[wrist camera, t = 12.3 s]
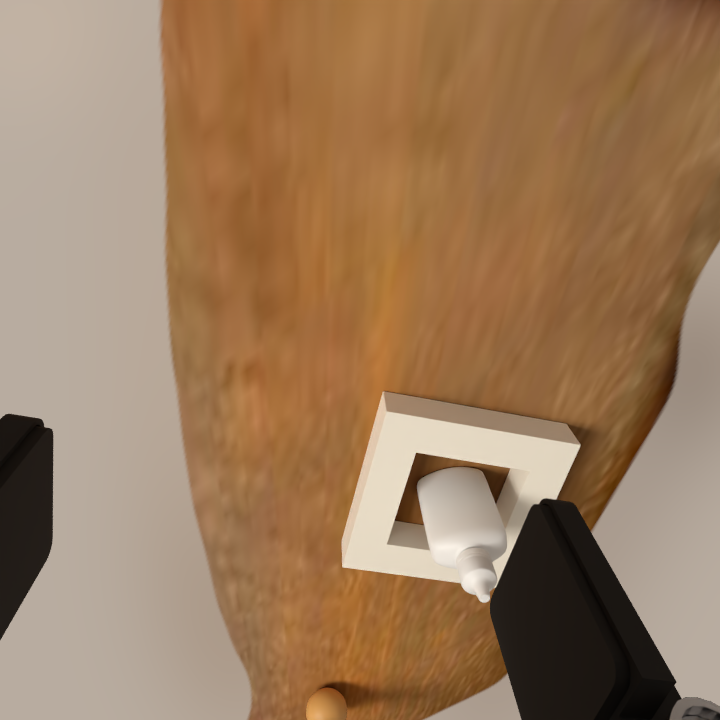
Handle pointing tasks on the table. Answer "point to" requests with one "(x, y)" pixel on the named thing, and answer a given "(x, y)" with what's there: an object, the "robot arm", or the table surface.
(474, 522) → the eye dropper bottle
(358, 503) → the cream square frame
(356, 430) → the table surface
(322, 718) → the figurine
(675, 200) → the table surface
